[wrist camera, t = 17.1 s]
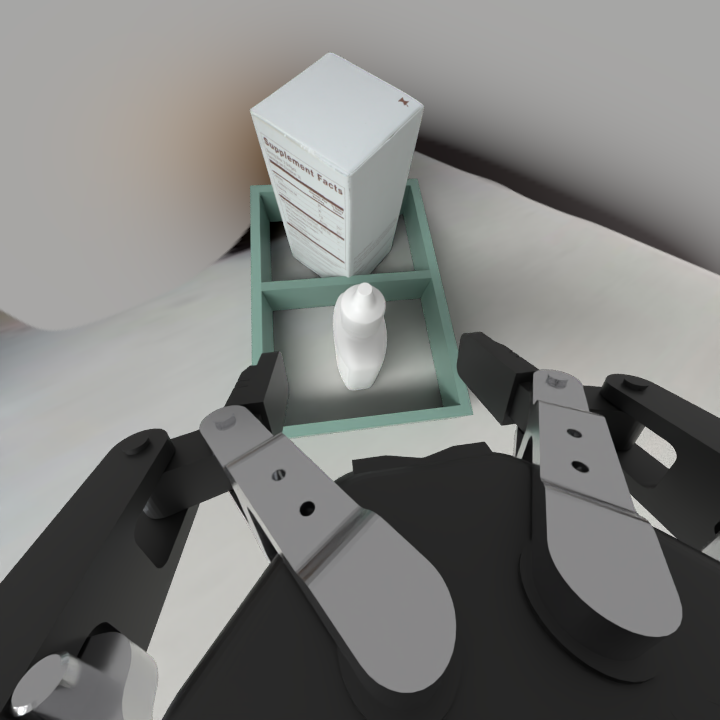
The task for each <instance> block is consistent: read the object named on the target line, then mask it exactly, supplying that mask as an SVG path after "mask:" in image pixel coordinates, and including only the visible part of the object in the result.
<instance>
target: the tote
mask: <svg viewBox="0 0 720 720" xmlns="http://www.w3.org/2000/svg"><path fill="white" fill-rule="evenodd" d="M250 192H251V193H250V198H251V199H250V204H251V323H252V365H257V363H258V361H259V358H260V356H261V354H262V353H268V352H274V339H273V311H276V310H288V309H300V308H312V307H324V306H335V304H336V301H337V299H338V297H339V296H340V295H341V294H342V293H344V292H345V291H346V290H347V289H348V288H350V287H352V286H354V285H356V284H361V283H369V284H370V285H371V286H373V287H375V288H377V289H378V290H379V291H380V292H381V294H383V296H384V298H385V301H395V300H407V299H419V298H421V303H422V308H423V313H424V317H425V322H426V327H427V332H428V337H429V341H430V346H431V351H432V356H433V361H434V365H435V370H436V375H437V380H438V385H439V389H440V394H441V399H442V404H443V407H441V408H433V409H424V410H416V411H408V412H400V413H391V414H383V415H375V416H367V417H358V418H350V419H342V420H334V421H325V422H317V423H309V424H301V425H292V426H284V427H283V431H282V433H283V434H284V435H285V436H287V437H288V438H289V439H291V438H299V437H307V436H315V435H323V434H331V433H339V432H347V431H355V430H363V429H371V428H379V427H387V426H395V425H403V424H411V423H419V422H427V421H435V420H443V419H451V418H457V417H463V416H468V415H473V411H472V407H471V403H470V399H469V395H468V390H467V386H466V384H465V383H464V382H463V381H462V379H461V378H460V377H459V375H458V372H457V358H458V348H457V344H456V340H455V336H454V331H453V327H452V323H451V319H450V315H449V310H448V306H447V302H446V298H445V294H444V289H443V285H442V281H441V277H440V273H439V268H438V264H437V260H436V256H435V252H434V247H433V243H432V239H431V235H430V231H429V226H428V222H427V218H426V214H425V209H424V205H423V201H422V197H421V193H420V188H419V184H418V180H417V179H407V183H406V187H405V192H404V196H403V200H402V204H401V209H400V213H399V215H403V217H404V221H405V226H406V231H407V236H408V241H409V245H410V250H411V255H412V260H413V265H414V269H415V271H408V272H395V273H381V274H368V275H354V276H351V277H346V276H341V277H327V278H314V279H300V280H287V281H273V282H272V278H271V248H270V222H275V221H282V217H281V214H280V211H279V207H278V204H277V200H276V197H275V193H274V190H273V187H272V185H257V186H250Z"/></svg>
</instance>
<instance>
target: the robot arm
mask: <svg viewBox="0 0 720 720" xmlns="http://www.w3.org/2000/svg"><path fill="white" fill-rule="evenodd" d="M457 372H458V375H459V377H460V378H461V379H462V381H463V382H464V383H465V384H466V385H467V386H468V387H469V389H470V390H471V391H472V392H473V393H474V394H475V396H476V397H477V398H478V399H479V400H480V401H481V403H482V404H483V405H484V406H485V407H486V408H487V409H488V411H489V412H490V413H491V414H492V415H493V416H494V418H495V419H496V420H497V421H498V422H499V423H500V425H501V426H502V425H509V424H516V425H517V427H516V430H515V436H514V447H513V456H511V455H507V454H502V453H496V452H492V451H491V449H490V448H489V447H488V445H487V444H486V443H485V442H479V443H472V444H465V445H457V446H452V447H450V448H447V449H445V450H442V451H440V452H437V453H435V454H432V455H430V456H427V457H424V458H414V457H400V456H378V457H371V458H364V459H357V460H352V465H353V471H352V472H350V473H347V474H345V475H343V476H342V477H340V478H338V479H337V480H335V481H333V480H332V479H331V478H329V477H328V476H327V475H326V474H325V473H324V472H323V471H322V470H321V469H320V468H319V467H318V466H317V465H316V464H315V463H314V462H313V461H312V460H311V459H310V458H309V457H307V456H306V455H305V454H304V453H303V452H302V451H301V450H300V449H299V448H298V447H297V446H296V445H295V444H294V443H293V442H292V441H291V440H290V439H289V438H288V437H287V436H285V435H284V434H283V433H282V431H283V426H284V420H285V415H286V409H287V403H288V398H289V385H288V380H287V375H286V371H285V366H284V361H283V357H282V354H281V352H280V351H278V352H268V353H262V354H261V356H260V358H259V361H258V363H257V365H252V366H249V367H248V368H247V369H246V370H244V371H243V372H242V373H241V375H240V377H239V379H238V382H237V383H236V385H235V388H234V389H233V391H232V393H231V395H230V397H229V399H228V400H227V402H226V404H225V406H224V407H223V408H220V409H218V410H215V411H214V412H212V413H210V414H209V415H208V416H206V417H205V418H204V419H203V421H202V422H201V424H200V427H199V430H197V431H194V432H191V433H188V434H185V435H182V436H179V437H176V438H173V439H170V438H169V436H168V434H167V432H166V431H165V430H162V429H149V430H144V431H141V432H138V433H136V434H133V435H131V436H129V437H127V438H126V439H124V440H122V441H121V442H119V443H118V444H117V445H116V446H114V447H113V448H112V449H111V450H110V451H109V453H108V454H107V455H106V456H105V457H104V459H103V460H102V461H101V462H100V464H99V465H98V466H97V467H96V468H95V470H94V471H93V472H92V473H91V474H90V476H89V477H88V478H87V479H86V480H85V482H84V483H83V484H82V485H81V486H80V488H79V489H78V490H77V491H76V493H75V494H74V495H73V496H72V497H71V499H70V500H69V501H68V502H67V503H66V505H65V506H64V507H63V508H62V509H61V511H60V512H59V513H58V514H57V516H56V517H55V518H54V519H53V520H52V522H51V523H50V524H49V525H48V526H47V528H46V529H45V530H44V531H43V532H42V534H41V535H40V536H39V537H38V539H37V540H36V541H35V542H34V543H33V545H32V546H31V547H30V548H29V549H28V551H27V552H26V553H25V554H24V555H23V557H22V558H21V559H20V560H19V562H18V563H17V564H16V565H15V566H14V568H13V569H12V570H11V571H10V572H9V574H8V575H7V576H6V577H5V578H4V580H3V581H2V582H1V583H0V720H153V716H152V715H153V705H154V700H155V695H156V690H157V685H158V668H157V664H156V662H155V660H154V658H153V657H152V656H150V655H149V654H148V653H147V649H148V646H149V643H150V640H151V638H152V635H153V632H154V629H155V627H156V624H157V621H158V618H159V615H160V613H161V610H162V607H163V604H164V602H165V599H166V596H167V593H168V590H169V588H170V585H171V582H172V579H173V577H174V574H175V571H176V568H177V565H178V563H179V560H180V557H181V554H182V552H183V549H184V546H185V543H186V540H187V538H188V535H189V532H190V529H191V527H192V524H193V521H194V518H195V515H196V513H197V510H198V507H199V504H200V503H201V502H204V501H206V500H209V499H211V498H213V497H216V496H218V495H221V494H223V493H225V492H228V493H229V495H230V496H231V498H232V500H233V501H234V503H235V505H236V506H237V508H238V510H239V511H240V513H241V515H242V516H243V518H244V520H245V521H246V523H247V525H248V526H249V528H250V530H251V531H252V533H253V535H254V537H255V539H256V541H257V543H258V545H259V547H260V548H261V550H262V552H263V554H264V556H265V558H266V559H267V561H268V563H269V566H268V567H267V568H266V570H265V571H264V573H263V574H262V575H261V577H260V578H259V580H258V581H257V582H256V584H255V585H254V587H253V588H252V589H251V591H250V592H249V594H248V595H247V596H246V598H245V599H244V601H243V602H242V603H241V605H240V606H239V608H238V609H237V610H236V612H235V613H234V615H233V616H232V617H231V619H230V620H229V622H228V623H227V624H226V626H225V627H224V629H223V630H222V631H221V633H220V634H219V636H218V637H217V638H216V640H215V641H214V643H213V644H212V645H211V647H210V648H209V650H208V651H207V652H206V654H205V655H204V657H203V658H202V659H201V661H200V662H199V664H198V665H197V666H196V668H195V669H194V671H193V672H192V673H191V675H190V676H189V678H188V679H187V680H186V682H185V683H184V685H183V686H182V688H181V689H180V690H179V692H178V693H177V695H176V697H175V698H174V700H173V701H172V703H171V704H170V706H169V708H168V710H167V711H166V713H165V715H164V717H163V719H162V720H720V418H718V417H716V416H714V415H713V414H711V413H709V412H707V411H705V410H703V409H701V408H699V407H698V406H696V405H694V404H692V403H690V402H688V401H686V400H684V399H683V398H681V397H679V396H677V395H675V394H673V393H671V392H669V391H668V390H666V389H664V388H662V387H660V386H658V385H656V384H654V383H652V382H650V381H648V380H645V379H642V378H639V377H635V376H631V375H625V374H612V375H609V376H607V377H606V380H605V382H604V384H603V386H602V387H596V386H583V385H582V383H581V382H580V381H579V380H578V379H577V378H575V377H574V376H572V375H569V374H567V373H564V372H561V371H556V370H549V369H544V370H539V369H537V368H536V367H534V366H533V365H532V364H530V363H529V362H527V361H526V360H524V359H523V358H522V357H519V355H517V354H516V353H514V352H513V351H512V350H510V349H509V348H507V347H506V346H504V345H502V344H499V343H497V342H495V341H493V340H492V339H491V338H489V337H488V336H486V335H485V334H484V333H482V332H473V333H464V334H463V335H462V336H461V339H460V345H459V352H458V358H457ZM645 426H646V427H647V428H649V429H650V430H651V431H653V432H654V433H656V434H657V435H659V436H660V437H662V438H663V439H665V440H666V441H667V442H669V443H670V444H671V445H672V446H673V447H674V449H675V451H676V454H677V459H676V461H675V463H674V464H673V465H672V466H671V468H670V469H668V468H667V467H665V466H664V465H663V464H662V463H660V462H659V461H658V460H656V459H655V458H654V457H652V456H651V455H650V454H649V453H647V452H646V451H645V450H643V449H642V448H641V447H639V446H638V445H637V444H636V443H635V442H636V440H637V438H638V437H639V435H640V434H641V432H642V431H643V429H644V427H645ZM630 494H631V495H632V496H633V497H634V498H635V499H636V500H637V501H638V502H639V503H640V504H641V505H642V506H643V507H644V508H646V509H647V510H648V511H649V512H650V513H651V514H652V515H653V516H654V517H655V518H656V519H657V520H658V521H659V522H660V523H661V524H662V525H663V526H664V527H665V528H666V529H667V530H669V531H670V532H671V533H672V534H673V535H674V536H675V537H676V538H677V539H676V538H674V537H672V536H670V535H668V534H666V533H665V532H663V531H661V530H659V529H657V528H655V527H653V526H652V525H651V524H650V523H649V521H648V520H646V519H645V518H643V517H641V516H640V515H639V514H638V513H637V512H636V510H635V508H634V505H633V502H632V499H631V496H630Z"/></svg>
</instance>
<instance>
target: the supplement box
mask: <svg viewBox="0 0 720 720" xmlns="http://www.w3.org/2000/svg"><path fill="white" fill-rule="evenodd" d="M423 110H424V105H423V104H421V103H420V102H419V101H417V100H416V99H414V98H413V97H411V96H410V95H408V94H406V93H405V92H403V91H401V90H400V89H398V88H396V87H394V86H392V85H390V84H389V83H387V82H385V81H383V80H381V79H380V78H378V77H376V76H374V75H372V74H370V73H369V72H367V71H365V70H363V69H362V68H360V67H358V66H356V65H354V64H353V63H351V62H349V61H347V60H345V59H344V58H342V57H340V56H338V55H336V54H334V53H332V52H329V53H327V54H326V55H324V56H323V57H322V58H320V59H319V60H318V61H317V62H315V63H314V64H313V65H311V66H310V67H308V68H307V69H306V70H304V71H303V72H302V73H300V74H299V75H298V76H296V77H295V78H293V79H292V80H291V81H289V82H288V83H287V84H285V85H284V86H282V87H281V88H280V89H278V90H277V91H275V92H274V93H273V94H271V95H270V96H269V97H267V98H266V99H264V100H263V101H261V102H260V103H258V104H257V105H256V106H254V107H253V108H251V109H250V112H251V116H252V119H253V123H254V126H255V129H256V133H257V136H258V140H259V143H260V147H261V150H262V153H263V156H264V160H265V163H266V167H267V170H268V173H269V177H270V180H271V184H272V187H273V190H274V193H275V197H276V200H277V204H278V207H279V211H280V214H281V217H282V221H283V224H284V228H285V231H286V234H287V238H288V241H289V245H290V248H291V251H292V255H293V257H294V258H296V259H297V260H298V261H300V262H301V263H302V264H304V265H305V266H307V267H308V268H309V269H311V270H312V271H313V272H315V273H316V274H318V275H319V276H320V277H322V278H327V277H341V276H346V277H351V276H354V275H368V274H370V273H371V272H372V271H373V270H374V269H375V267H376V266H377V265H378V264H379V263H380V262H381V261H382V259H383V258H384V257H385V256H386V255H387V254H388V253H389V252H390V250H391V247H392V243H393V239H394V235H395V230H396V226H397V221H398V217H399V213H400V209H401V204H402V200H403V196H404V192H405V187H406V183H407V179H408V175H409V170H410V166H411V162H412V157H413V153H414V149H415V145H416V141H417V136H418V132H419V128H420V123H421V119H422V115H423Z"/></svg>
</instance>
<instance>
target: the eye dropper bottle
mask: <svg viewBox="0 0 720 720" xmlns="http://www.w3.org/2000/svg"><path fill="white" fill-rule="evenodd" d="M385 308H386V302H385V298H384V296H383V294H381V292H380V291H379V290H378V289H377V288H375V287H373V286H371V285H370V284H369V283H361V284H356V285H354V286H352V287H350V288H348V289H347V290H346V291H345V292H344V293H342V294H341V295H340V296H339V297H338V299H337V301H336V304H335V308H334V313H333V334H334V343H335V352H336V360H337V366H338V370H339V373H340V376H341V378H342V380H343V382H344V383H345V385H346V386H347V388H348V389H350V390H360V389H366V388H370V387H371V386H372V385H373V383H374V381H375V379H376V377H377V375H378V373H379V371H380V369H381V367H382V365H383V362H384V358H385V354H386V347H387V329H386V323H385V319H384V313H385Z"/></svg>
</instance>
